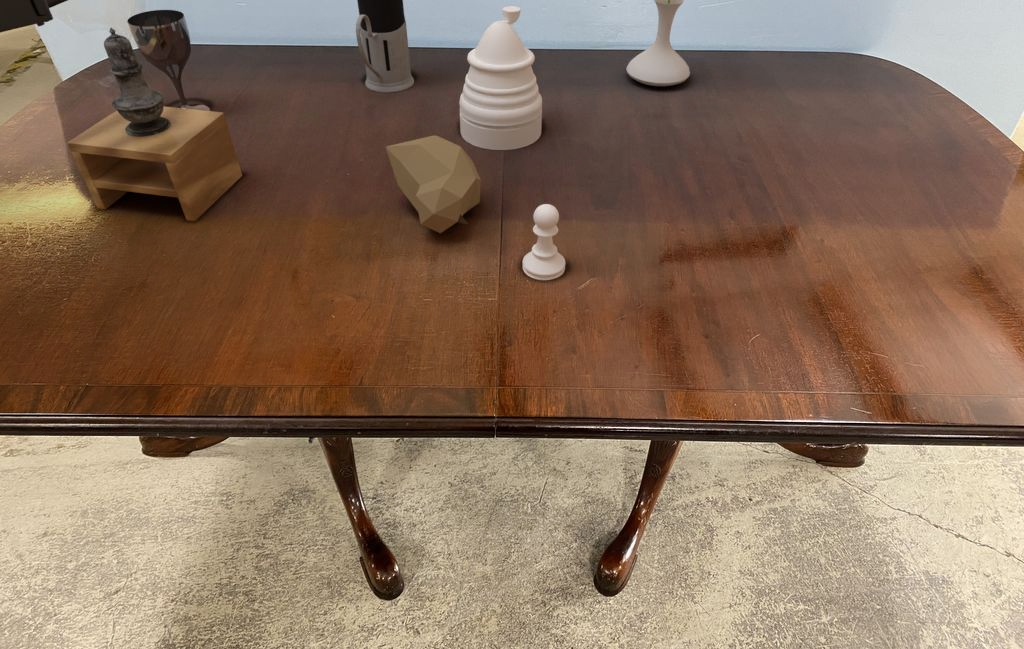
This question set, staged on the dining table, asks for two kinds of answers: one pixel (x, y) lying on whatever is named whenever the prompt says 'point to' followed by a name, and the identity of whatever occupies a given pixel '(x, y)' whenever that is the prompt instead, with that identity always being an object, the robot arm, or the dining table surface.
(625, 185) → the dining table surface
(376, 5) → the glass holder
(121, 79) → the grey chess piece
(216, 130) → the shelf
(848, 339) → the dining table surface
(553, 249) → the chess pawn
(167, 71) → the wine glass
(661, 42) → the flower in vase
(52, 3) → the robot arm
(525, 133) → the honey pot
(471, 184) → the low-poly potato
